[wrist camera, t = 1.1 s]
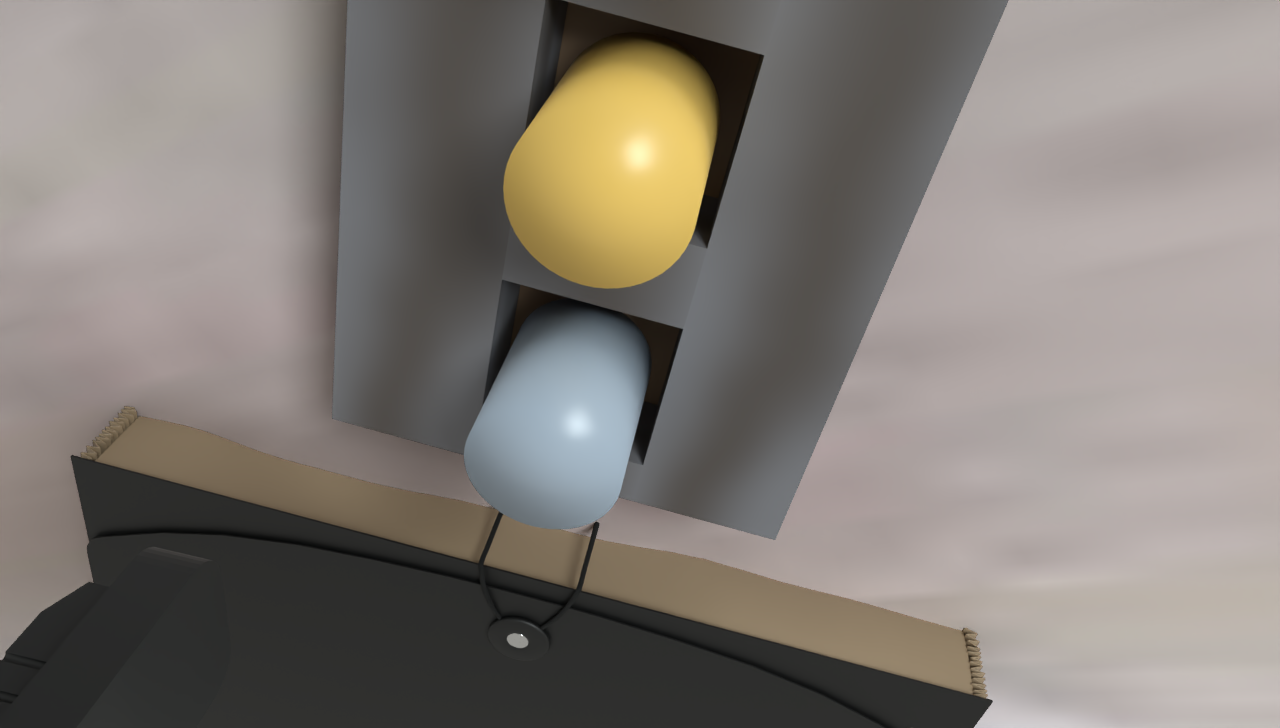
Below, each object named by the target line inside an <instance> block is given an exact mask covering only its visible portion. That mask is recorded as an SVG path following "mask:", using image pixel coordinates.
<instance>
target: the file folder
mask: <svg viewBox="0 0 1280 728" xmlns="http://www.w3.org/2000/svg"><path fill="white" fill-rule="evenodd" d="M121 411H122V413H118V416H119V418H114V422H112V421H109V423H110V426H109V427H105V429H106V430H102V434H99V437H95V439H96V441H95V440H92V441H93V447H92V446H86V448H87V453H84V452H82V453H81V457H78V456H74V455H71V460H72V465H73V470H74V474H75V479H76V483H77V488H78V492H79V497H80V502H81V506H82V511H83V515H84V520H85V524H86V529H87V534H88V538H89V544H88V546H87V553H88V558H89V563H90V567H91V572H92V577H93V581H94V583H96V584H100V585H104V586H108V587H110V586H111V585H112V584H113V583H114V581H115V580H116V579H117V578H118V577H119V575H120V574H121V573H122V572H123V571H124V569H125V568H126V567H127V566H128V565H129V564H130V562H131V561H132V560H133V559H134V558H135V557H136V556H137V555H138V554H139V553H140V552H141V551H143V550H145V549H146V548H149V547H157V548H161V549H166V550H170V551H174V552H178V553H183V554H187V555H191V556H195V557H200V558H204V559H208V560H212V561H215V562H216V563H217V564H218V565H219V567H220V570H221V576H222V583H223V590H224V597H225V604H226V611H227V619H228V626H229V633H230V640H231V654H230V660H229V665H228V668H227V672H226V675H225V678H224V680H223V683H222V685H221V687H220V689H219V691H218V693H217V695H216V697H215V699H214V700H213V702H212V704H211V705H210V707H209V708H208V710H207V711H206V713H205V715H204V716H203V718H202V719H201V721H200V722H199V724H198V726H197V727H196V728H907V727H912V728H974V726H975V725H976V724H977V722H978V721H979V720H980V718H981V717H982V716H983V714H984V713H985V712H986V710H987V709H988V707H989V706H990V705H991V703H992V700H990V699H986V698H987V696H988V695H987V694H985V693H986V692H987V690H985V689H984V688H985V687H986V685H985V684H983V682H984V680H985V678H983V676H984V675H985V673H983V672H980V670H981V668H982V667H983V666H982V665H981V664H982V661H979V659H980V658H981V656H979V655H980V654H981V653H980V652H979V651H980V648H978V647H977V645H978V644H979V641H978V640H976V639H975V638H976V636H977V635H978V634H977V633H975V632H973V631H971V630H968V629H967V628H964V629H963V631H960V630H956V629H953V628H949V627H945V626H942V625H938V624H935V623H931V622H928V621H924V620H920V619H917V618H913V617H910V616H907V615H903V614H900V613H897V612H893V611H890V610H887V609H883V608H880V607H876V606H873V605H869V604H865V603H862V602H858V601H854V600H851V599H847V598H843V597H839V596H835V595H831V594H827V593H823V592H819V591H815V590H811V589H807V588H803V587H799V586H795V585H791V584H787V583H783V582H780V581H777V580H773V579H770V578H767V577H763V576H760V575H757V574H753V573H750V572H747V571H744V570H740V569H737V568H733V567H730V566H726V565H722V564H719V563H716V562H713V561H709V560H706V559H702V558H696V557H691V556H687V555H682V554H678V553H673V552H668V551H660V550H654V549H648V548H641V547H635V546H630V545H625V544H619V543H614V542H608V541H603V540H599V539H596V535H597V531H598V528H599V523H598V522H595V524H594V527H593V531H592V534H591V537H587V536H583V535H579V534H575V533H571V532H568V531H564V530H561V529H546V528H539V527H534V526H530V525H527V524H524V523H521V522H519V521H516V520H514V519H512V518H510V517H508V516H506V515H504V514H502V513H501V512H499V511H498V510H496V509H493V508H489V507H485V506H481V505H477V504H473V503H469V502H465V501H461V500H455V499H449V498H444V497H439V496H434V495H429V494H423V493H417V492H411V491H407V490H402V489H397V488H392V487H387V486H383V485H378V484H374V483H370V482H366V481H362V480H358V479H355V478H351V477H347V476H344V475H340V474H336V473H333V472H329V471H325V470H322V469H318V468H314V467H310V466H306V465H302V464H298V463H295V462H291V461H288V460H284V459H281V458H278V457H275V456H271V455H268V454H265V453H263V452H260V451H257V450H254V449H251V448H248V447H246V446H243V445H240V444H238V443H235V442H232V441H230V440H227V439H225V438H222V437H219V436H217V435H214V434H211V433H208V432H205V431H202V430H199V429H195V428H192V427H188V426H184V425H180V424H175V423H171V422H166V421H161V420H156V419H152V418H147V417H141V416H139V417H138V418H137V411H136V410H135V408H134V407H127V406H124V409H122V410H121Z"/></svg>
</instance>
